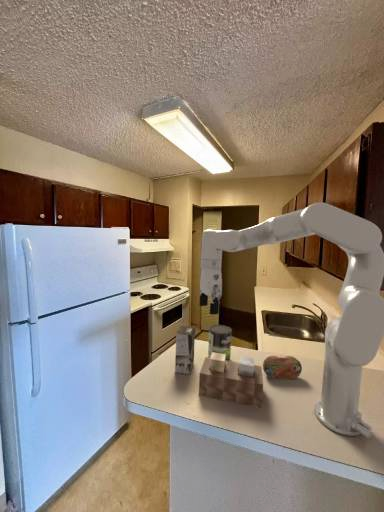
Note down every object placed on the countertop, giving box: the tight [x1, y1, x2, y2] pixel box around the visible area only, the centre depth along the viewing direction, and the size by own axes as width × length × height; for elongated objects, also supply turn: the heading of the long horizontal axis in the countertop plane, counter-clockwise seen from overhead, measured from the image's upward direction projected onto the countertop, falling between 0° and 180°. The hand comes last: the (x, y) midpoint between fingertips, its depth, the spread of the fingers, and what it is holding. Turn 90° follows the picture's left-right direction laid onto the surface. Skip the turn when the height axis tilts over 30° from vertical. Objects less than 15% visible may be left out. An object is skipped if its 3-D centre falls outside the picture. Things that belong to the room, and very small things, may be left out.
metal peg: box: [238, 356, 255, 378], centre depth 80 cm, size 5×5×8 cm
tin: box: [262, 355, 303, 380], centre depth 91 cm, size 15×3×8 cm, turn 92°
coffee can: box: [207, 324, 233, 361], centre depth 103 cm, size 10×10×14 cm
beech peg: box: [210, 352, 226, 373], centre depth 82 cm, size 5×5×8 cm
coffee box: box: [174, 325, 196, 375], centre depth 95 cm, size 9×6×16 cm
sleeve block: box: [198, 356, 264, 409], centre depth 81 cm, size 21×11×8 cm, turn 76°
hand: (208, 309), depth 85 cm, fingers open, 9 cm apart
